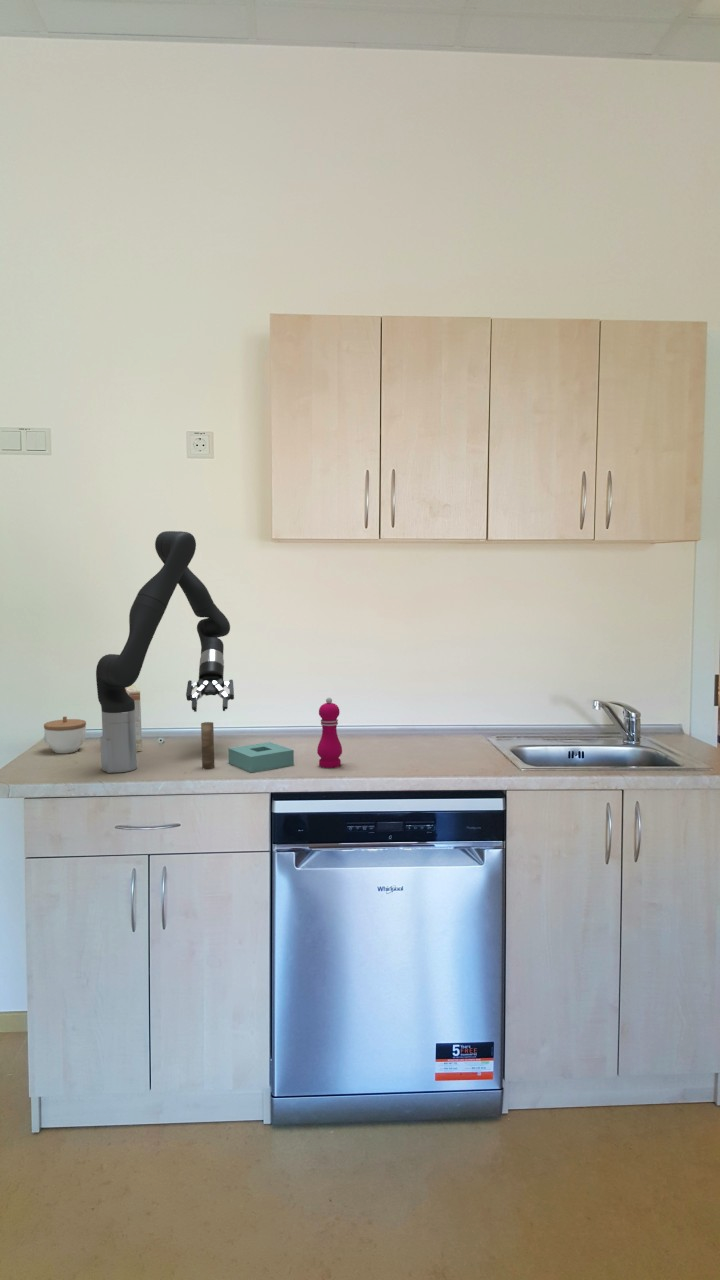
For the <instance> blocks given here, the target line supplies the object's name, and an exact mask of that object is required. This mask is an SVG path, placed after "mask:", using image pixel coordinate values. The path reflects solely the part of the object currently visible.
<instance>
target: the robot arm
mask: <svg viewBox="0 0 720 1280" xmlns="http://www.w3.org/2000/svg"><path fill="white" fill-rule="evenodd" d="M154 542H155V543H154V548H155V552H156V554H157V555H158V558H159V559H160V560H161V562H162V563H163V565H162V567H161V568H160V570H159V571H158V572H157V573H156V574H155V575H154V576H152V577H151V578H150V579H148V581H147V582H145V583H144V584H143V586H142V587H141V588H140V589H139V591H138V592H137V594H136V597H134V598H135V599H134V601H133V603H132V605H131V606H130V609H129V615H128V623H129V631H128V638H127V640H126V643H125V645H123V646H124V647H123V649H122V651H121V653H120V654H117V653H116V654H114V653H113V654H112V653H109V654H105V655H103V656H102V657H100V659H99V660H98V662H97V665H96V669H95V670H96V671H95V679H96V680H95V681H96V691H97V699H98V702H99V705H100V707H101V730H102V731H101V734H102V736H100V738H99V739H100V741H99V742H100V743H99V744H100V762H101V763H100V766H101V770H102V771H104V772H105V773H108V774H111V773H113V774H114V773H124V772H125V773H126V772H132V771H134V770H136V769H137V768H138V758H137V757H138V755H137V754H138V752H136V725H135V702H134V700H133V699H132V698H131V697H130V696H129V695H128V694H127V692H126V689H125V688H126V687H129V686H131V685H135V682H137V680H138V679H139V676H140V674H141V671H142V668H143V664H144V662H145V658H146V657H147V654H148V649H149V647H150V645H151V642H152V640H153V638H154V635H155V633H156V631H157V628H158V627H159V625H160V624H161V623H160V622H161V620H162V619H163V617H164V614H165V613H166V610H167V607H168V605H169V602H170V601H171V598H172V596H173V594H174V592H175V590H176V588H177V586H179V587H180V588H181V591H182V592H183V593H184V595H185V598H186V600H187V601H188V603H189V605H190V607H191V610H192V612H193V614H194V615H195V616H196V617H198V618H203V619H200V620H199V621H198V623H197V624H196V631H197V635H198V638H199V641H200V647H201V648H200V649H201V650H200V657H199V665H198V666H199V668H198V680H197V681H196V682H195V681H194V682H193V681H192V680H188V681H187V684H186V685H187V686H186V692H185V697H186V700H187V701H188V702H190V701H191V709H192V711H193V712H194V713H197V711H198V700H200V699H202V698H203V697H204V696H205V697H207V696H216V695H217V696H218V697H219V698H221V699H222V712H226V710H228V709H229V708H228V707H229V705H228V704H229V700H234V699H235V693H234V691H235V690H234V681H233V679H229V681H225V680H224V671H225V670H224V669H225V665H224V664H225V660H224V650H225V649H224V642H223V640H221V638H222V637H225V636H228V635H229V633H230V631H231V624H230V620H229V619H228V617H226V615H225V614H224V613H223V612H222V611H221V610H220V608H218V606H217V605H216V604H215V602H214V601H213V598H212V595H211V594H210V591H209V590H208V588H207V587H206V585H205V583H203V582H202V581H201V579H199V578H198V576H197V575H195V573H193V571H192V570H191V569H190V568H189V565H190V563H191V561H192V559H193V558H194V555H195V553H196V549H197V548H196V547H197V542H196V538H195V536H194V535H193V534H192V533H191V532H188V531H182V530H181V531H180V530H179V531H178V530H173V531H172V530H167V531H162V532H160V533H159V534H157V536H156V538H155V541H154ZM196 687H197V688H196ZM225 687H226V688H227V689H228V690H229V693H227V692H226V691H225V690H224V688H225ZM195 688H196V691H195V692H194V693H193V691H194V689H195ZM192 693H193V694H192Z"/></svg>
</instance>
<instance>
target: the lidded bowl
mask: <svg viewBox="0 0 720 1280" xmlns="http://www.w3.org/2000/svg"><path fill="white" fill-rule="evenodd" d="M86 726H87V721H86V720H84V719H79V718H69V719H68V716H63V717H62V719H57V720H51V721H48V722H45V723H44V724H43V729H44V738H45V741H46V742H45V743H46V744H47V746H48V747H49V748H50V749H51V750H52V751H53V752H54V753H56V754H70V753H76V752H78V751H79V749H80V748H81V746H82V745H83V744H84V742H85V740H86V733H87V731H86V729H87V727H86Z"/></svg>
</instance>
